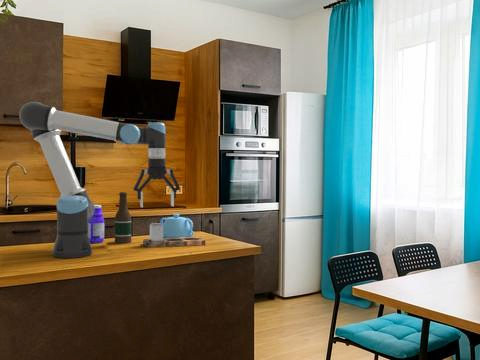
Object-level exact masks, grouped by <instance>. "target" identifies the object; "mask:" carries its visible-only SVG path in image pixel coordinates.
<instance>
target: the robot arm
mask: <svg viewBox="0 0 480 360" xmlns="http://www.w3.org/2000/svg"><path fill="white" fill-rule="evenodd" d="M18 115H19V117H18V119H19V121H20V123H21V124H22V126H23V127H25V128H26V129H28V130H29V131H30V133H31V136H32V138H33V140H34V141H36V142H38V143H39V145H40V147H41V150H42V153H43V154H44V156H45V160H46V162H47V164H48V168H49V169H50V171H51V173H52V177H53V178H54V181H55V184H56V186H57V189H58V191H59V192H60V197H59V198H58V199H57V202H56V238H55V242H54V244H53V248H52V251H51V252H52V254H51V255H52V257H54V258H61V259H63V258H64V259H71V258H72V259H73V258H84V257H89V256H91V255H93V247H92V244H91V242H90V241H89V238H88V222H89V221H90V220H91V218H92V217H93V215H94V212H95V207H94V205H95V204H94V202H93V200H92V199H90V197H89V194H88V192H87V189H86V188H83V187H81V185H80V182H79V180H78V177H77V175H76V172H75V170H74V168H73V165H72V163H71V160H70V158H69V156H68V153H67V151H66V148H65V146H64V144H63V141H62V139H61V135H60V134H61V132H62V131H63V132H69V133H72V134H79V135H85V136H90V137H93V138H94V137H95V138H100V139H106V140H111V141H117V142H119V143H120V144H121V145H125V146H129V145H147V148H148V149H147V157H148V159H147V166H148V167H147V169H143V168H142V169H140V174H139V176H138V178H137V181H136V182H135V184H134V187H133V191H135V192H137V200H139V206H140V208H144V203H143V201H144V193H143V190H144V188H146V186H147V185H148V183H150V181H151V180H163V181H164V182H165V183H166V184H167V186H168V187H169V188H170V190H171V191H170V206H171V207H174V206H175V205H174V204H175V202H174V201H175V199H176V198H177V191H179V190H181V187H180V185H179V183H178V181H177V179H176V177H175V174H174V170H173V169H172V168H169V169H166V167H167V166H166V164H167V163H166V162H167V161H166V157H167V156H166V134H167V133H166V125H165V123H164V122H149V123H148V124H147V126H146V127H145V126H144V127H141V126H140V127H139V126H137V125H135V124H132V123H124V122H118V121H115V120H108V119H103V118H98V117H93V116H88V115H82V114H78V113H73V112H67V111H62V110H58V109H56V107H55V106H49V105H47V104H43V103H41V102H38V101H29V102H27V103H25V104H24V105H23V106H21V108H20V110H19V113H18ZM146 174H147V175H148V177H146V179H145V181H144V182H143V183H142V184H141V182H142V180H143V177H144V176H145V175H146ZM167 174H168V175H169V177H170V179H171V181H172V182H171V181H170V180H169V179H168V177H167V176H166V175H167ZM172 183H173V184H172ZM140 184H141V185H140Z"/></svg>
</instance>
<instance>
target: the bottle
mask: <svg viewBox="0 0 480 360" xmlns="http://www.w3.org/2000/svg"><path fill="white" fill-rule="evenodd" d="M94 207H95V212H94V215H93V217H92V218H91V220H90V221H88V238H89V241H90V244H91V243H92V244H98V243H103V242H104V240H105V219H104V217H103V215H104V213H103V211H102V205H100V204H94Z"/></svg>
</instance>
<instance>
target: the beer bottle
mask: <svg viewBox="0 0 480 360" xmlns="http://www.w3.org/2000/svg"><path fill="white" fill-rule="evenodd" d="M118 194H119V203H118V209H117V212H116V213H115V216H114V244H119V245H121V244H123V245H124V244H131V243H132V216H131V212H130V211H129V209H128V200H127V199H128V198H127V197H128V193H127V192H126V191H120V192H119V193H118Z"/></svg>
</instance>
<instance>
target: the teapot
mask: <svg viewBox="0 0 480 360" xmlns="http://www.w3.org/2000/svg"><path fill="white" fill-rule="evenodd" d="M172 215H173V216H171V217H162V218H161V219H160V221H159V223H161V224H162V225H163V239H166V238H184V237H194V235H195V231H193V227H194V223H193V221H192V220H191V219H190V218H189V217H182V216H180V213H173V214H172Z"/></svg>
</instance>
